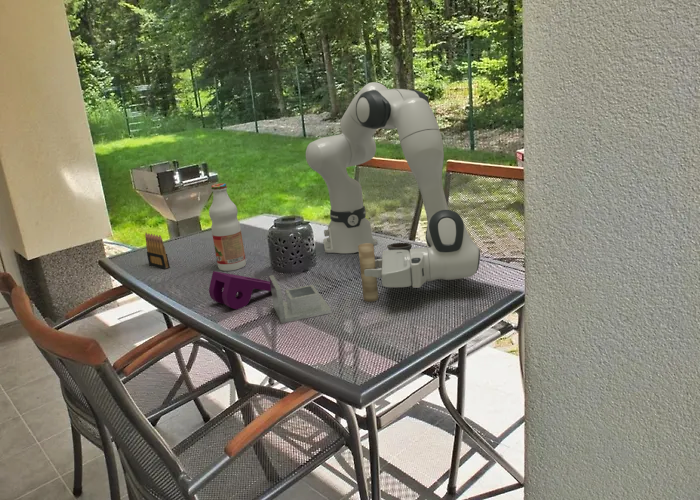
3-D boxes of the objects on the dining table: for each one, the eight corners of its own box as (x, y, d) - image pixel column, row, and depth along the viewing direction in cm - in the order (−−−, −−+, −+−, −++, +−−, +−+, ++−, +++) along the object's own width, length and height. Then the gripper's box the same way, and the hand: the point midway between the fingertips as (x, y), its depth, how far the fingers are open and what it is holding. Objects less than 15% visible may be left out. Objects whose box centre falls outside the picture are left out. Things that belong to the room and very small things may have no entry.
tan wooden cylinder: (361, 297, 162) (356, 244, 158) (375, 295, 163) (370, 242, 158) (366, 302, 158) (360, 248, 154) (380, 299, 159) (375, 245, 155)
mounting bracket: (258, 307, 179) (206, 300, 167) (264, 280, 179) (213, 271, 167) (276, 314, 172) (223, 307, 160) (283, 286, 173) (230, 277, 160)
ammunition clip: (149, 265, 213) (142, 232, 209) (153, 263, 214) (147, 231, 211) (165, 269, 206) (158, 236, 202) (170, 267, 207) (163, 234, 204)
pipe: (431, 272, 176) (429, 246, 174) (388, 273, 179) (385, 248, 176) (432, 265, 182) (430, 240, 179) (390, 267, 184) (388, 242, 182)
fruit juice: (240, 271, 195) (226, 186, 187) (213, 271, 198) (198, 188, 190) (250, 261, 204) (237, 180, 196) (225, 262, 206) (211, 182, 198)
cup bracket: (273, 307, 162) (268, 275, 159) (320, 297, 165) (317, 266, 162) (281, 323, 151) (276, 290, 148) (331, 312, 154) (327, 280, 151)
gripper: (414, 242, 166) (365, 246, 167) (418, 266, 146) (361, 270, 148) (416, 263, 168) (367, 267, 169) (419, 290, 148) (364, 294, 149)
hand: (364, 269), depth 158 cm, fingers closed on tan wooden cylinder, 4 cm apart
